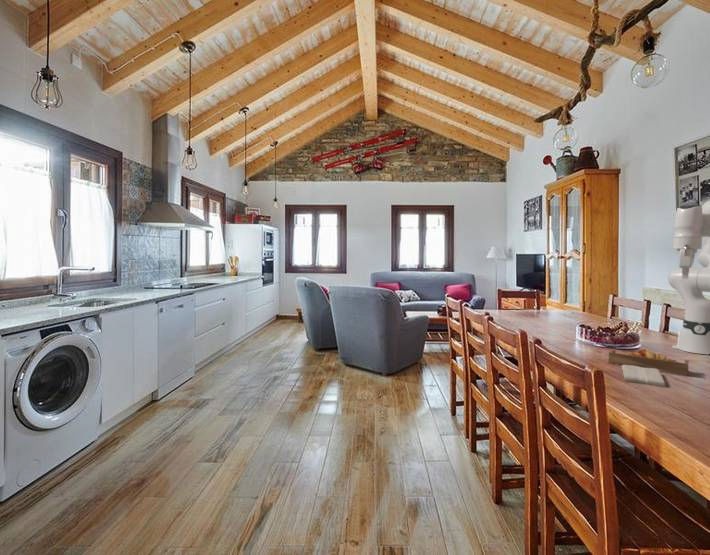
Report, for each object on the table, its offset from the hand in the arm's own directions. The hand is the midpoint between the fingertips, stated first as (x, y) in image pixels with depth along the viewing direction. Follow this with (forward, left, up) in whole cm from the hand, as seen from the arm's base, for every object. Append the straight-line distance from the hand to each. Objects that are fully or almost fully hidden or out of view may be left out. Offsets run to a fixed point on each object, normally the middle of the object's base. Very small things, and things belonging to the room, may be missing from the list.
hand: (685, 278), depth 156 cm
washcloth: (+34, -9, -36) cm, 51 cm away
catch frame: (+17, -9, -35) cm, 40 cm away
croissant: (+14, -9, -36) cm, 39 cm away
